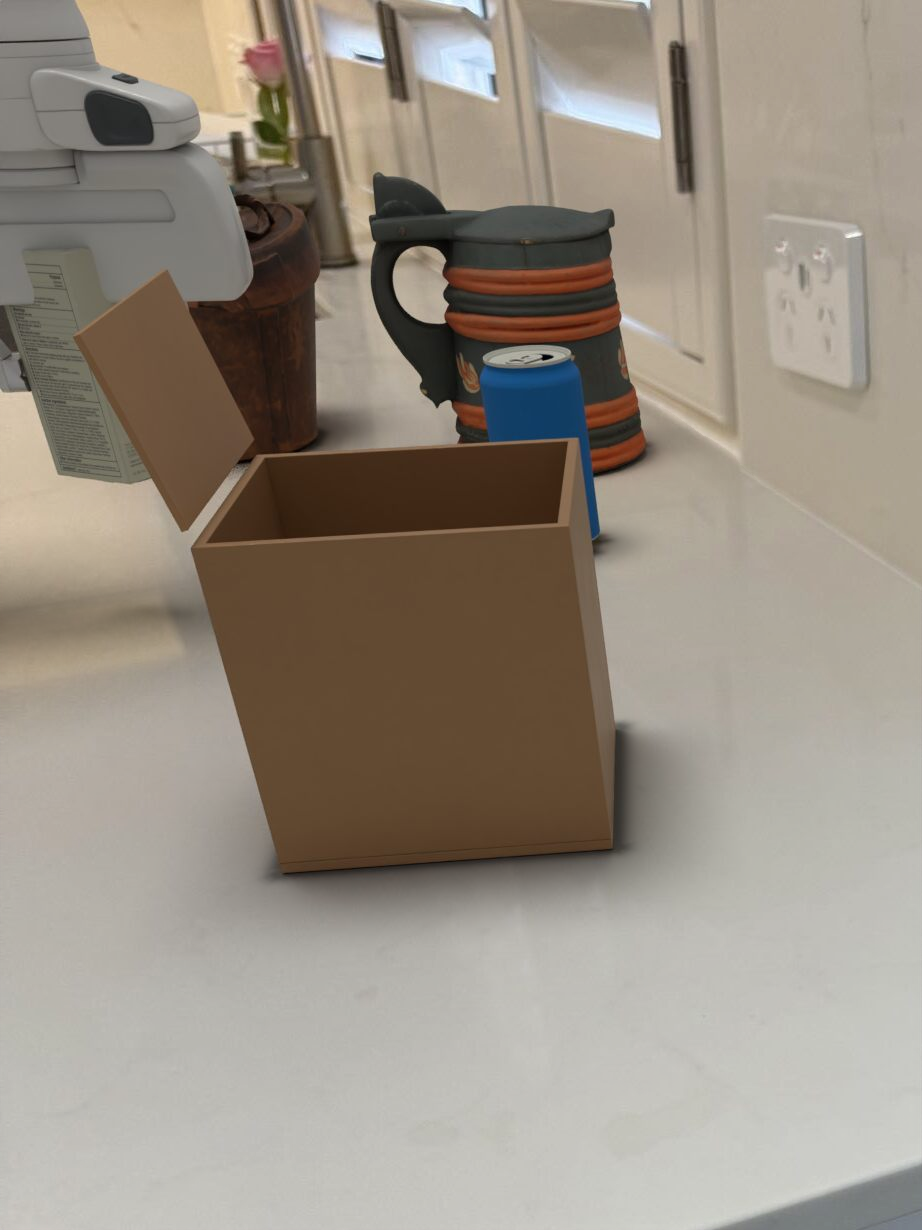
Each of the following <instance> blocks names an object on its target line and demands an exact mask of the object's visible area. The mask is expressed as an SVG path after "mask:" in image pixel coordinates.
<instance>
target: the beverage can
mask: <svg viewBox="0 0 922 1230" xmlns="http://www.w3.org/2000/svg"><path fill="white" fill-rule="evenodd" d="M570 357H571V351H570V350H569V349H567V348H563V347H559V346H549V345H529V346H517V347H509V348H504V349H499V350H495V351H492V352H489V353H487V354H486V355H484V356H483V362H484V363H485V366H484V368H483V371H482V373H481V375H480V387H481V393H482V399H483V406H484V412H485V418H486V424H487V430H488V436H489V442H506V441H524V440H543V439H562V438H579V444H580V452H581V460H582V468H583V476H584V483H585V491H586V499H587V507H588V515H589V523H590V531H591V538H592V541H594V540H595V539H596V538H598V537H599V536H600V533H601V527H600V519H599V512H598V511H599V510H598V503H597V495H596V487H595V479H594V473H593V470H592V462H591V454H590V446H589V438H588V430H587V422H586V414H585V406H584V398H583V390H582V382H581V374H580V371H579V369H578V368H577V366H576V365H575V364H574V363H573V361H572V360H571V358H570Z"/></svg>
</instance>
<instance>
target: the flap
mask: <svg viewBox="0 0 922 1230" xmlns="http://www.w3.org/2000/svg"><path fill="white" fill-rule="evenodd" d="M73 339H74V340H75V342H76V344H77V346H78V348H79V349H80V351H81V353H82V355H83V357H84V358H85V360H86V362H87V364H88V366H89V367H90V369H91V371H92V373H93V374H94V376H95V378H96V380H97V382H98V383H99V385H100V387H101V389H102V391H103V392H104V394H105V396H106V398H107V400H108V401H109V403H110V405H111V407H112V408H113V410H114V412H115V414H116V416H117V417H118V419H119V421H120V423H121V425H122V426H123V428H124V430H125V432H126V433H127V435H128V437H129V439H130V441H131V442H132V444H133V446H134V448H135V450H136V451H137V453H138V455H139V457H140V459H141V460H142V462H143V464H144V466H145V467H146V469H147V471H148V473H149V475H150V476H151V480H152V482H153V484H154V486H155V487H156V489H157V491H158V493H159V494H160V496H161V498H162V500H163V501H164V504H165V505H166V507H167V509H168V511H169V512H170V514H171V516H172V518H173V519H174V521H175V523H176V525H177V527H178V528H179V530H180V532H181V533H183V532H184V533H185V532H186V531H189V529H190V528H191V527H192V525H193V524H194V523H195V521H196V520H197V519H198V517H199V516H200V514H201V513H202V512H203V510H204V509H205V508H206V507H207V504H208V503H209V502H210V501H211V499H212V498H213V497H214V496H215V494H216V493H217V491H218V490H219V488H220V487H221V486H222V484H223V483H224V482H225V480H226V479H227V478H228V477H229V475H230V473H232V471H233V469H234V468H235V467H236V465H237V464H238V463H239V461H241V460H240V458H241V457H242V456H243V454H244V453H245V452H246V450H247V449H248V447H249V446H250V445H251V443H252V442H253V441H254V438H253V436H252V434H251V432H250V430H249V428H248V426H247V424H246V422H245V420H244V418H243V416H242V414H241V412H240V410H239V409H238V407H237V405H236V403H235V401H234V399H233V397H232V395H231V393H230V391H229V389H228V387H227V385H226V383H225V381H224V379H223V377H222V375H221V373H220V371H219V369H218V367H217V365H216V364H215V362H214V360H213V358H212V356H211V354H210V352H209V350H208V348H207V346H206V344H205V342H204V340H203V338H202V336H201V334H200V332H199V330H198V328H197V326H196V324H195V322H194V320H193V319H192V317H191V315H190V313H189V311H188V309H187V307H186V305H185V303H184V301H183V299H182V297H181V295H180V293H179V291H178V289H177V287H176V285H175V283H174V281H173V279H172V277H171V275H170V273H169V272H168V270H167V269H165V270H162V271H160V272H159V273H158V274H156V275H155V276H154V277H152V278H151V279H150V280H148V281H147V282H146V283H144V284H143V285H141V286H140V287H139V288H137V289H136V290H135V291H133V292H132V293H131V294H129V295H128V296H127V297H125V298H124V299H122V300H121V301H120V302H118V303H117V304H116V305H114V306H113V307H112V308H110V309H109V310H108V311H106V312H105V313H104V314H102V315H101V316H99V317H98V318H97V319H95V320H94V321H93V322H91V323H90V324H89V325H87V326H86V327H85V328H83V329H82V330H80V331H79V332H78V333H76V334H75V335H74V336H73Z"/></svg>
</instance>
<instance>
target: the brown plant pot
mask: <svg viewBox="0 0 922 1230" xmlns="http://www.w3.org/2000/svg"><path fill="white" fill-rule="evenodd" d="M233 197H234V200H235V203H236V206H237V207H246V208H243V209H241V210H238V212H239V215H240V219H241V222H242V225H243V229H244V232H245V236H246V239H247V243H248V247H249V251H250V255H251V260H252V265H253V278H252V281H251V283H250V285H249V286H248V288H247V289H246V291H245V292H244V293H243V294H242V295H241V296H240V297H239V298H237V299H235V300H231V301H187V305H188V309H189V313H190V315H191V317H192V319H193V320H194V322H195V324H196V326H197V328H198V330H199V332H200V334H201V336H202V338H203V340H204V342H205V344H206V346H207V348H208V350H209V352H210V354H211V356H212V358H213V360H214V362H215V364H216V365H217V367H218V369H219V371H220V373H221V375H222V377H223V379H224V381H225V383H226V385H227V387H228V389H229V391H230V393H231V395H232V397H233V399H234V401H235V403H236V405H237V407H238V409H239V410H240V412H241V414H242V416H243V418H244V420H245V422H246V424H247V426H248V428H249V430H250V432H251V434H252V436H253V438H254V441H253V442H252V443H251V445H250V446H249V447H248V449H247V450H246V452H245V453H244V454H243V456H242V457H241V458H240V460H239V461H247V460H253V459H254V458H255V456H256V455H265V454H283V453H293V452H295V451H297V450H300V449H302V448H304V447H306V446H308V445H309V444H311V443H312V442H313V441H315V440H316V439H317V437H318V434H319V429H318V416H317V413H318V412H317V338H316V337H317V335H316V333H317V332H316V283H317V281H318V279H319V277H320V273H321V257H320V254H319V252H318V249H317V246H316V244H315V241H314V237H313V235H312V233H311V229H310V226H309V222H308V220H307V217H306V216H305V214H304V213H303V212H302V211H301V210H300V209H299V208H298V207H296V206H295V205H294V204H292V203H290V202H284V201H283V202H282V201H271V202H270V201H268V202H262V201H261V200H260V199H259V198H258V197H256V196H255V195H250V194H248V193H244V194H236V195H233Z"/></svg>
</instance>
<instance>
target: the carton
mask: <svg viewBox="0 0 922 1230" xmlns="http://www.w3.org/2000/svg"><path fill="white" fill-rule="evenodd" d="M190 552H191V557H192V559H193V562H194V566H195V570H196V573H197V576H198V580H199V584H200V588H201V591H202V594H203V598H204V602H205V605H206V608H207V613H208V616H209V620H210V622H211V626H212V631H213V634H214V638H215V641H216V644H217V648H218V652H219V654H220V659H221V662H222V665H223V669H224V673H225V676H226V679H227V680H226V681H227V683H228V687H229V690H230V694H231V697H232V701H233V705H234V708H235V710H236V716H237V718H238V722H239V723H238V724H239V727H240V730H241V732H242V736H243V740H244V744H245V747H246V750H247V754H248V757H249V762H250V765H251V768H252V769H251V770H252V772H253V775H254V779H255V783H256V785H257V789H258V793H259V797H260V800H261V804H262V808H263V811H264V815H265V818H266V821H267V826H268V829H269V832H270V836H271V840H272V842H273V847H274V850H275V853H276V857H277V860H278V864H279V867H280V871H281V873H282V874H289V873H290V874H291V873H302V872H318V871H331V870H343V869H344V870H345V869H358V868H369V867H384V866H398V865H399V866H400V865H412V864H427V863H439V862H451V861H465V860H467V861H468V860H479V859H493V858H494V859H495V858H507V857H519V856H520V857H521V856H533V855H535V856H536V855H547V854H549V855H550V854H560V853H561V854H562V853H574V852H587V851H600V850H601V851H602V850H612V849H613V848H614V816H615V815H614V813H615V812H614V810H615V809H614V808H615V807H614V806H615V768H616V767H615V765H616V729H617V728H616V720H615V712H614V706H613V705H614V704H613V697H612V696H613V695H612V689H611V688H612V687H611V681H610V672H609V665H608V664H609V663H608V658H607V650H606V642H605V641H606V640H605V634H604V633H605V632H604V625H603V618H602V611H601V610H602V609H601V603H600V601H601V600H600V594H599V593H600V592H599V587H598V578H597V571H596V570H597V569H596V563H595V554H594V547H593V540H592V538H591V531H590V523H589V515H588V507H587V499H586V491H585V483H584V476H583V468H582V460H581V452H580V444H579V438H562V439H543V440H524V441H506V442H487V443H469V444H458V443H451V444H434V445H433V444H432V445H416V446H396V447H395V446H394V447H380V448H379V447H376V448H362V449H361V448H359V449H341V450H324V451H323V450H322V451H321V450H320V451H307V452H305V451H303V452H290V453H283V454H265V455H256V456H255V458H254V459H251V462H250V463H249V465H248V466H247V467H246V469H245V470H244V471H243V474H242V475H240V477H239V479H238V480H237V481H236V482H235V484H234V486H233V487H232V489H231V490H230V491H229V493H228V494H227V495H226V497H225V499H224V500H223V501H222V503H221V504H220V505H219V506H218V509H217V510H216V511H215V513H214V514H213V515H212V517H211V518H210V519H209V521H208V523H207V524H206V525H205V527H204V528H203V530H201V533H200V534H199V535H198V536H197V538H196V539H195V540H194V542H193V543H192V545H191V546H190Z"/></svg>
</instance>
